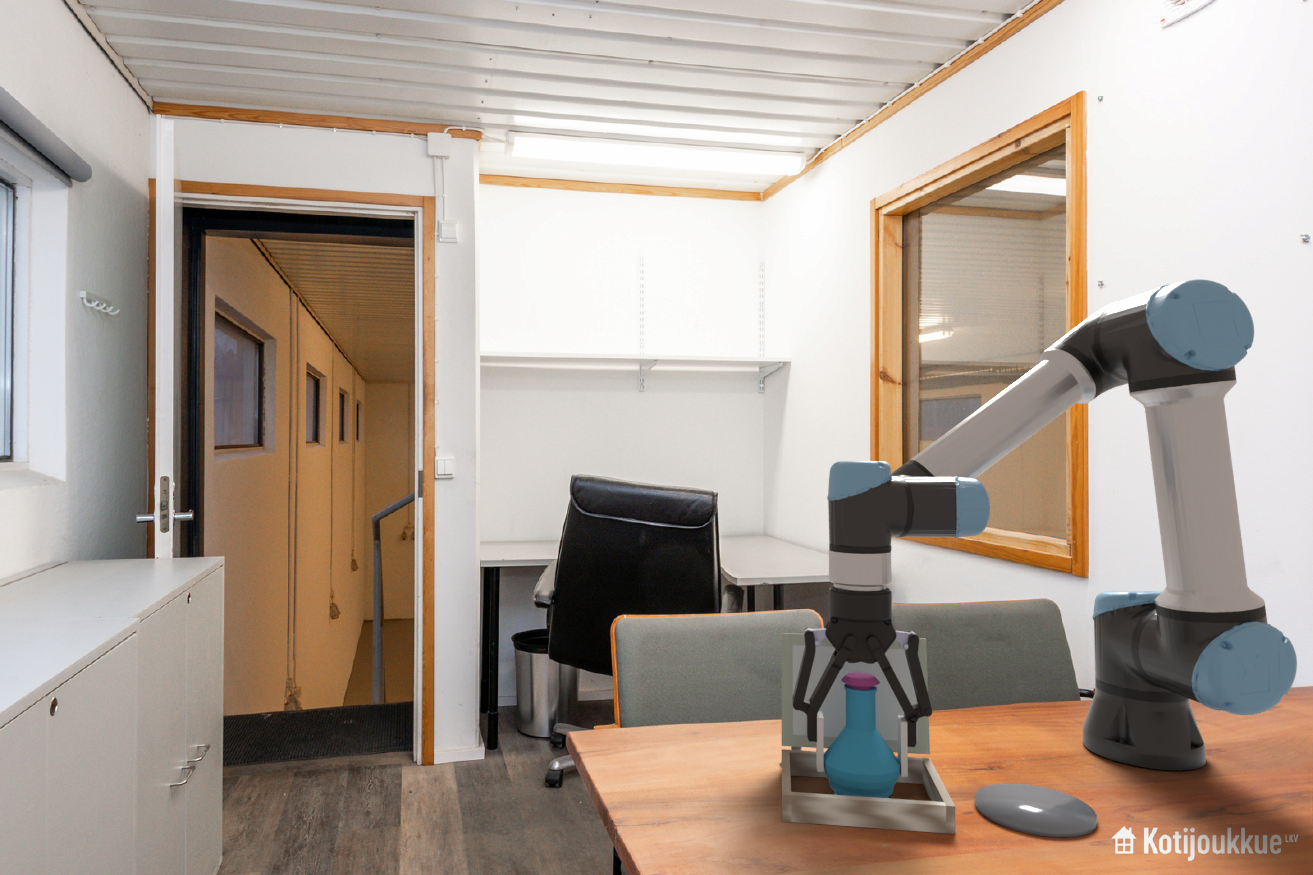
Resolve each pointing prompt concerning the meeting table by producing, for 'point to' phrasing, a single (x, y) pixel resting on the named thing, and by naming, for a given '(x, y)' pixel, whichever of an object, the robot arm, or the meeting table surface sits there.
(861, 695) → the perfume bottle
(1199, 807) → the meeting table surface
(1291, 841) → the meeting table surface
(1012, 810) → the saucer
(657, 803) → the meeting table surface
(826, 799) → the cold frame
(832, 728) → the lid
